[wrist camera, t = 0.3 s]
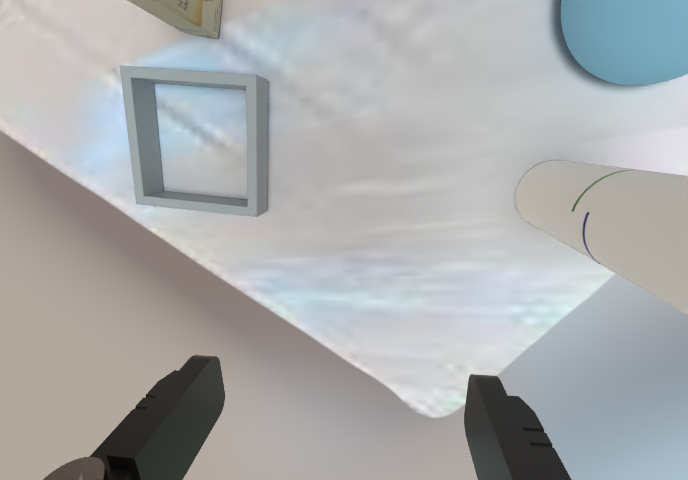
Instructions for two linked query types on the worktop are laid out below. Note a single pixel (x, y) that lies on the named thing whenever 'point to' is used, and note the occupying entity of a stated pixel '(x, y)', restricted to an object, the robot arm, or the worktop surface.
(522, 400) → the robot arm
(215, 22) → the skincare box
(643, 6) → the sugar bowl
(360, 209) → the worktop surface
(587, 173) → the cylindrical container
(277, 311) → the worktop surface
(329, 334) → the worktop surface
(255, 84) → the box
